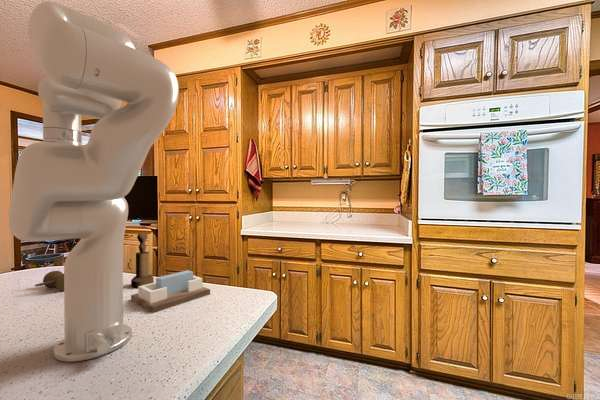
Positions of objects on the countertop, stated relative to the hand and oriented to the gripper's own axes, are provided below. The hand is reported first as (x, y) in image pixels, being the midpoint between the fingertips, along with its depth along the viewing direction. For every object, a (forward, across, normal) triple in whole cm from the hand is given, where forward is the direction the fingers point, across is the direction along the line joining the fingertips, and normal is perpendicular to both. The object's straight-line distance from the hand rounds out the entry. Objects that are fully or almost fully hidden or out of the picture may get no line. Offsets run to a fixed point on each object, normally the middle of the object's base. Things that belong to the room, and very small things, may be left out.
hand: (63, 203), depth 70 cm
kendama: (+29, +25, -8) cm, 39 cm away
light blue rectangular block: (+27, -12, -24) cm, 38 cm away
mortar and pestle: (+28, +7, -22) cm, 37 cm away
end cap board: (+28, -12, -22) cm, 38 cm away
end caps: (+27, -12, -22) cm, 37 cm away
